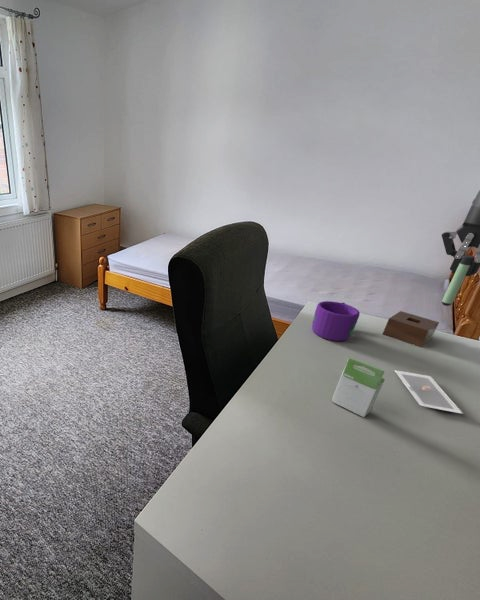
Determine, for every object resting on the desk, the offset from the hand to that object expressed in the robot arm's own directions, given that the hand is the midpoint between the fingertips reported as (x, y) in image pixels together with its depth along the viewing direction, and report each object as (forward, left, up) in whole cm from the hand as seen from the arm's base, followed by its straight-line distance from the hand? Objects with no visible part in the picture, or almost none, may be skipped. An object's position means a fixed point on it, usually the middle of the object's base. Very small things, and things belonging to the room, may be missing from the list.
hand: (461, 273), depth 87 cm
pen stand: (-16, -7, -28) cm, 33 cm away
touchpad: (+16, +6, -28) cm, 33 cm away
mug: (+1, -22, -28) cm, 36 cm away
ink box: (+37, -2, -28) cm, 47 cm away
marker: (0, 0, -9) cm, 9 cm away
